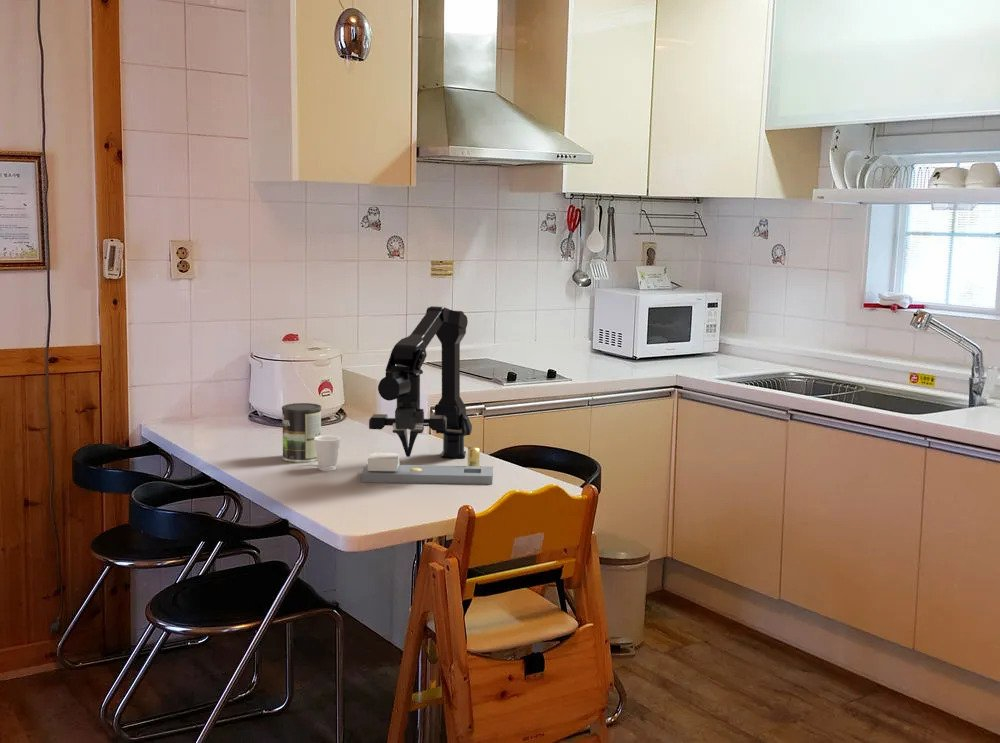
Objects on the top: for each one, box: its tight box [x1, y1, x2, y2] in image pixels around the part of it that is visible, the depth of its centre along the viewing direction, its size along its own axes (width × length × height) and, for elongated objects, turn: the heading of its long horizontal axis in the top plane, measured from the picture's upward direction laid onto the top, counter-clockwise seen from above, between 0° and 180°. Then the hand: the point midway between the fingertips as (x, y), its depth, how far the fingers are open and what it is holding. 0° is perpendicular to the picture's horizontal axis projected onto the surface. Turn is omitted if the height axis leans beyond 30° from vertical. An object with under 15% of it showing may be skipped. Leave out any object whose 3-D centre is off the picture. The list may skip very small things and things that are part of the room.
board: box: [360, 463, 494, 485], centre depth 255 cm, size 10×32×2 cm, turn 90°
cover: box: [367, 452, 400, 471], centre depth 255 cm, size 7×7×3 cm
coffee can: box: [281, 402, 322, 464], centre depth 273 cm, size 10×10×14 cm
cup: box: [314, 435, 341, 472], centre depth 264 cm, size 7×10×8 cm
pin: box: [467, 446, 481, 466], centre depth 263 cm, size 3×3×6 cm
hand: (408, 456), depth 255 cm, fingers closed
